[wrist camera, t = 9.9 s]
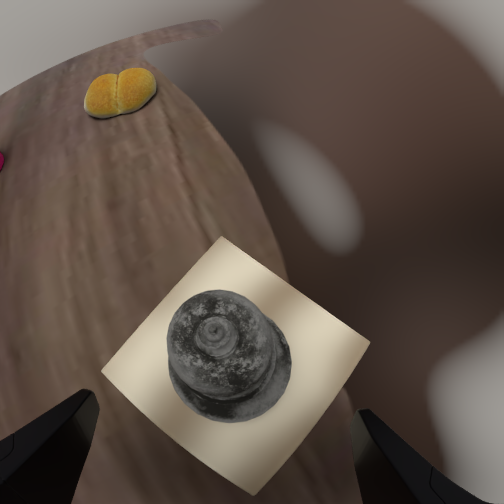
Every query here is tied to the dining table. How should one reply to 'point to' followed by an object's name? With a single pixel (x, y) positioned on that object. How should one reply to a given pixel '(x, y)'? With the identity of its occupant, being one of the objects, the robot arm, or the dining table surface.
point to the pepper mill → (1, 160)
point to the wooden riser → (287, 407)
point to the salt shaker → (226, 357)
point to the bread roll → (119, 93)
